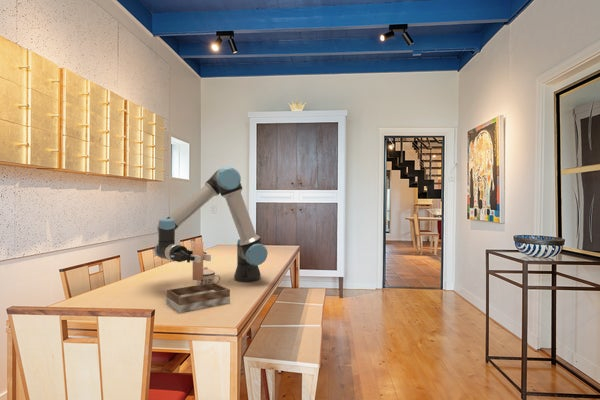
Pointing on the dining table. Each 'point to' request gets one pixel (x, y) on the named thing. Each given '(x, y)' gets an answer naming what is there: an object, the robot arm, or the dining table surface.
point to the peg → (196, 266)
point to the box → (197, 297)
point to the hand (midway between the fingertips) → (204, 258)
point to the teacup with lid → (208, 277)
